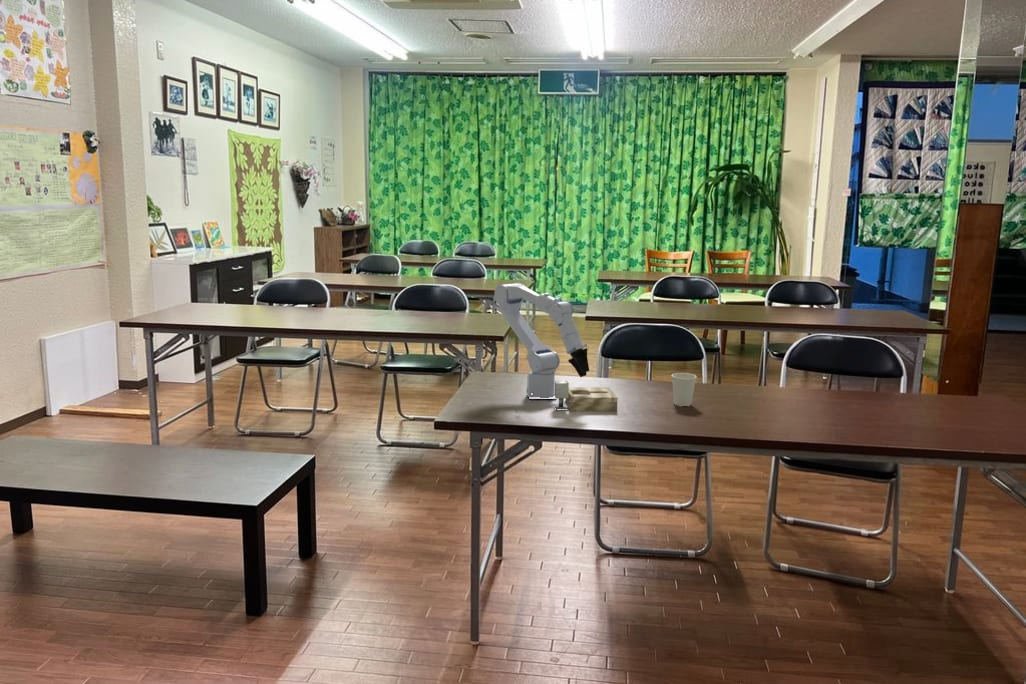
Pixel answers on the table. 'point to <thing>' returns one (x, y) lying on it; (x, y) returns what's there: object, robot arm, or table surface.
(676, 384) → the dixie cup
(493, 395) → the table surface
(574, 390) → the keyhole plate
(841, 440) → the table surface
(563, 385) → the headed peg
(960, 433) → the table surface
